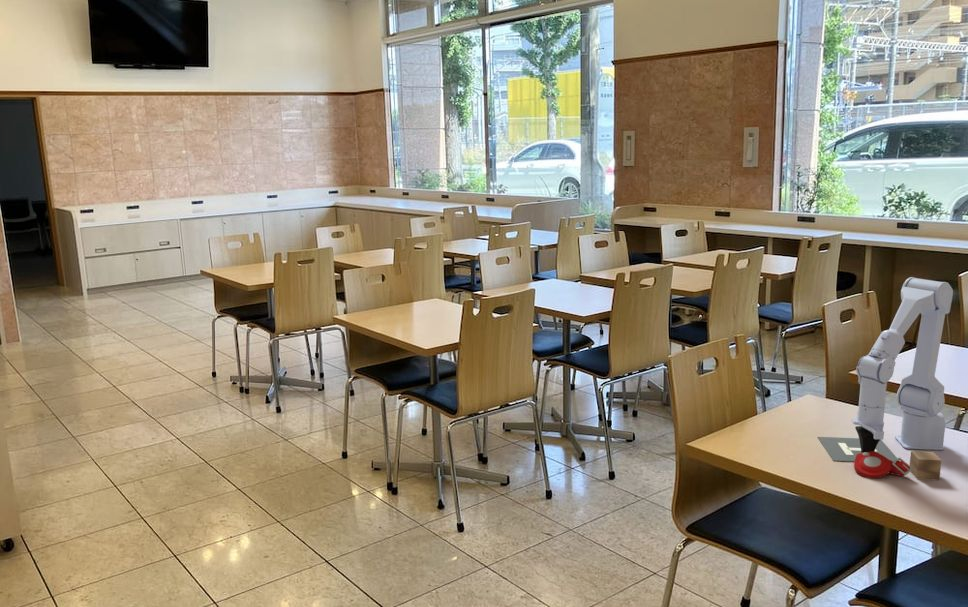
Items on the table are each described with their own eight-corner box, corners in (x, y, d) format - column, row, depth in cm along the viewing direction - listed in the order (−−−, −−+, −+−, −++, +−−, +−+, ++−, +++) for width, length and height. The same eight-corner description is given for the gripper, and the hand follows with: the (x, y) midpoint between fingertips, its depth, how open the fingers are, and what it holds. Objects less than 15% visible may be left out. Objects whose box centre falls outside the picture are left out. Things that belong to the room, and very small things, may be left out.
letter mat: (880, 439, 213) (880, 439, 213) (901, 464, 198) (901, 463, 198) (817, 437, 216) (817, 436, 215) (833, 461, 200) (833, 460, 200)
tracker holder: (861, 475, 189) (846, 449, 198) (862, 489, 191) (847, 463, 200) (915, 466, 187) (897, 440, 196) (915, 480, 189) (898, 454, 198)
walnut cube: (931, 471, 193) (933, 452, 192) (939, 480, 189) (941, 460, 188) (909, 470, 194) (910, 451, 193) (916, 479, 189) (918, 459, 188)
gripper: (846, 394, 204) (842, 444, 207) (863, 413, 190) (858, 467, 193) (875, 395, 203) (871, 445, 206) (895, 414, 189) (889, 468, 192)
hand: (867, 456), depth 199 cm, fingers closed
